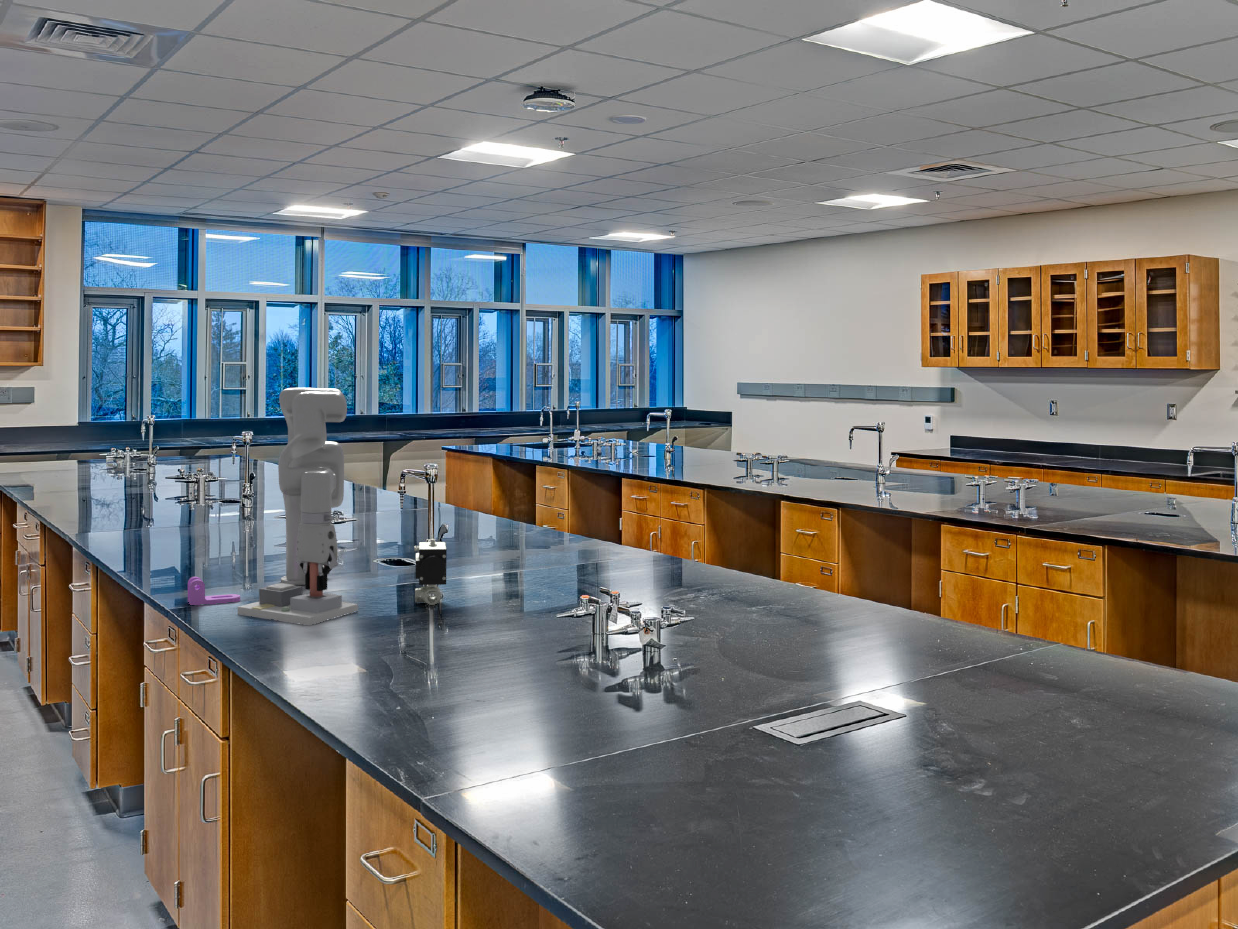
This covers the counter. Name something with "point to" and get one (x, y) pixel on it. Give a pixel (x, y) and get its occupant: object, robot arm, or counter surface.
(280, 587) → the button
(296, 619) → the panel
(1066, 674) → the counter surface
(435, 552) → the ball valve
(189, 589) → the bracket
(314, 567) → the peg
